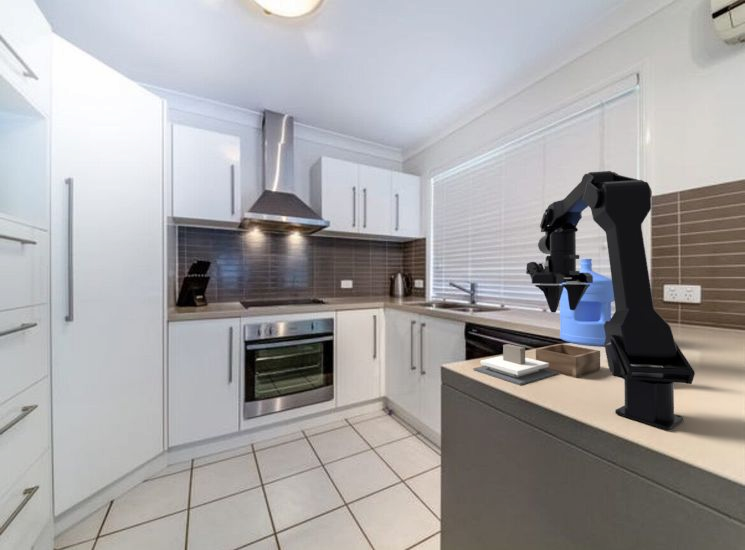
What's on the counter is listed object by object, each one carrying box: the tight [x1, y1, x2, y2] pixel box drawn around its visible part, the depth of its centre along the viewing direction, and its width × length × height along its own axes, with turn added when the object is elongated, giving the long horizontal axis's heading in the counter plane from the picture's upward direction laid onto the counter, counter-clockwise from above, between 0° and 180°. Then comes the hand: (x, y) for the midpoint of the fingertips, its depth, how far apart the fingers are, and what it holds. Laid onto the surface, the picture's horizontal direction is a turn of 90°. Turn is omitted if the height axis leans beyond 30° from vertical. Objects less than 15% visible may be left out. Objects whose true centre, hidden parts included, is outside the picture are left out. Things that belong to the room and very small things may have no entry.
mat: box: [473, 365, 559, 386], centre depth 71 cm, size 14×12×1 cm
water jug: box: [559, 258, 615, 347], centre depth 104 cm, size 16×16×28 cm
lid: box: [479, 343, 549, 377], centre depth 71 cm, size 12×10×6 cm
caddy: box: [535, 343, 601, 378], centre depth 73 cm, size 11×9×4 cm
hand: (563, 311), depth 80 cm, fingers open, 9 cm apart
